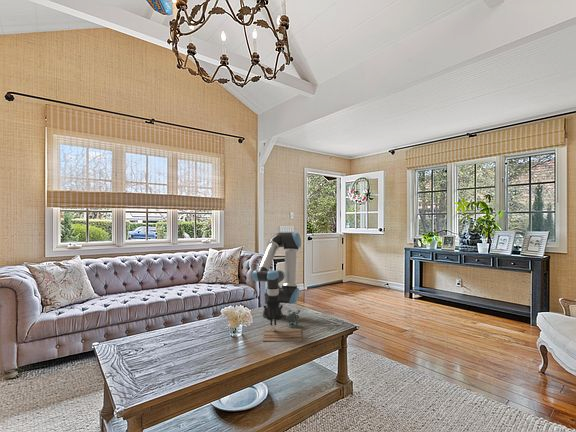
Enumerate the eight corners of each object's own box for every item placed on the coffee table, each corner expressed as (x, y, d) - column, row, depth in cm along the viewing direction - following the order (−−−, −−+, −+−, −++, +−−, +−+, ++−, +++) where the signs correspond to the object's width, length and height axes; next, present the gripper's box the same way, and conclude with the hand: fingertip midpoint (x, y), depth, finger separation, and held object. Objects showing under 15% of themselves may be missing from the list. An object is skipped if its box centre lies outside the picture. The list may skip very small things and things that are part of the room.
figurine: (302, 329, 211) (301, 311, 211) (286, 329, 211) (286, 311, 211) (301, 323, 222) (301, 306, 222) (286, 323, 222) (286, 307, 222)
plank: (264, 330, 207) (264, 328, 207) (300, 329, 207) (300, 328, 207) (263, 336, 198) (263, 335, 198) (301, 336, 199) (301, 334, 198)
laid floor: (263, 337, 198) (263, 335, 198) (301, 336, 198) (301, 334, 198) (262, 342, 189) (262, 340, 189) (302, 342, 190) (302, 339, 190)
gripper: (262, 296, 200) (263, 332, 201) (283, 296, 200) (283, 332, 201) (263, 293, 208) (263, 328, 208) (283, 292, 208) (283, 327, 208)
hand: (273, 330), depth 204 cm, fingers closed
